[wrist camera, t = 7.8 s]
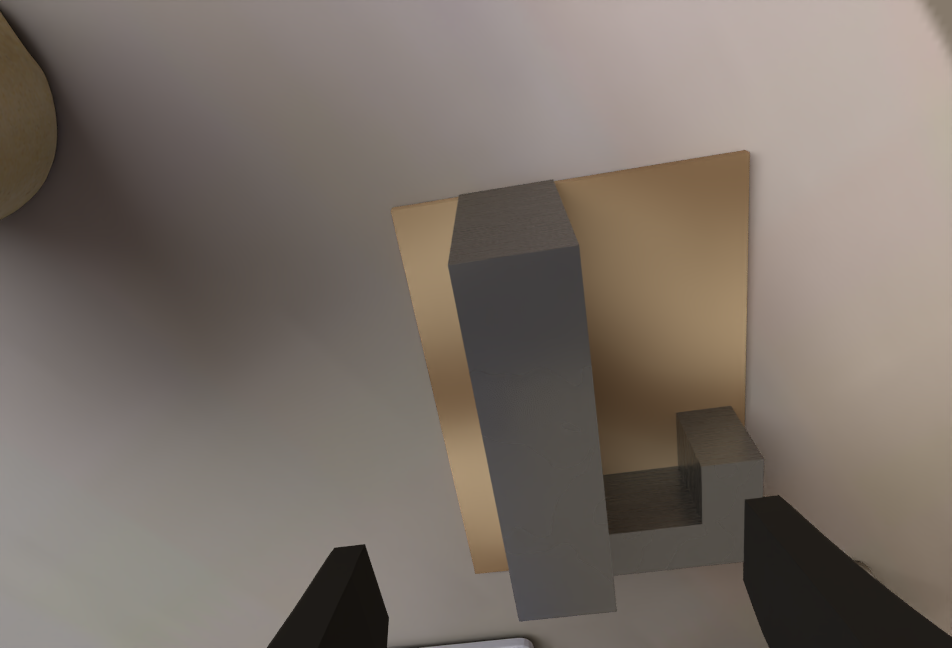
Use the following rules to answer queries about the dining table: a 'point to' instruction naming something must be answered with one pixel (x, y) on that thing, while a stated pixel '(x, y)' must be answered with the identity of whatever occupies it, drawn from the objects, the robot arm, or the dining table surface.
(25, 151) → the flower pot
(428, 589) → the dining table surface
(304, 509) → the dining table surface
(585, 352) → the uneven u-shaped block
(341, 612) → the robot arm
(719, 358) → the plate
